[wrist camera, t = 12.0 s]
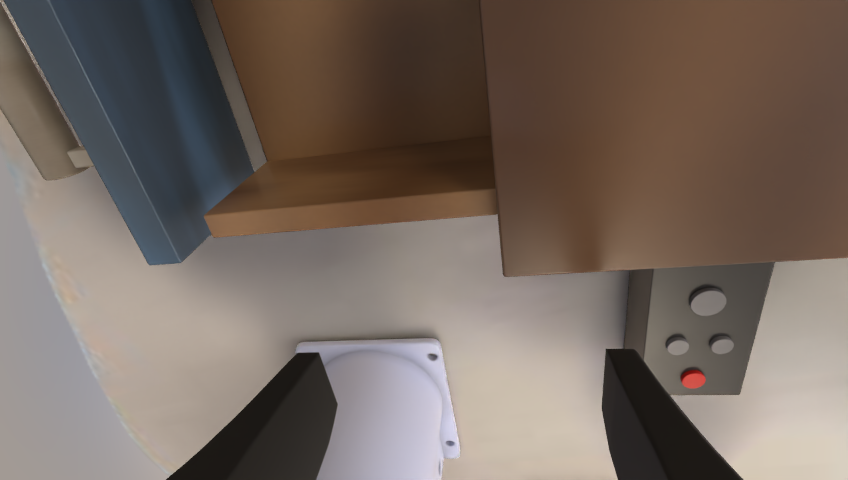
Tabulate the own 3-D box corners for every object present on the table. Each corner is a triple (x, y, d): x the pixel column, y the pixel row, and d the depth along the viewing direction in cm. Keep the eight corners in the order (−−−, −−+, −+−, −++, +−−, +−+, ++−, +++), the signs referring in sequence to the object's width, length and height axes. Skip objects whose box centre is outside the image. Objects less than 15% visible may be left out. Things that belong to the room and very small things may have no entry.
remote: (744, 196, 18) (786, 234, 15) (712, 348, 22) (742, 399, 19) (634, 205, 18) (657, 243, 16) (623, 350, 22) (640, 399, 20)
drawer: (153, 199, 20) (44, 273, 15) (-25, -157, 14) (-301, -225, 9) (560, 157, 17) (588, 234, 12) (555, -333, 11) (607, -587, 6)
